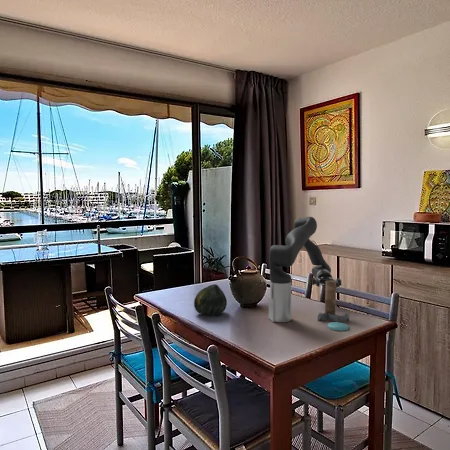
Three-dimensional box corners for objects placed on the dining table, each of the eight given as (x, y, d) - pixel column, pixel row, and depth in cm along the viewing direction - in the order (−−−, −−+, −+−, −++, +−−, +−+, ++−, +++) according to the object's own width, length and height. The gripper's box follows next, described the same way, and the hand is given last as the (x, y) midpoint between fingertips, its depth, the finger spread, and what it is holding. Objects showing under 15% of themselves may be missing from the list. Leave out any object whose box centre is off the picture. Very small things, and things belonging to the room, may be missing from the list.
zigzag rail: (318, 322, 168) (318, 315, 168) (316, 318, 173) (316, 311, 173) (350, 322, 167) (350, 315, 167) (347, 319, 172) (347, 312, 172)
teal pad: (333, 331, 156) (333, 329, 156) (324, 324, 165) (324, 323, 165) (352, 330, 158) (352, 328, 158) (342, 323, 166) (342, 321, 166)
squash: (188, 299, 186) (196, 280, 176) (215, 296, 193) (225, 278, 183) (196, 325, 177) (205, 306, 168) (225, 321, 184) (236, 303, 174)
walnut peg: (327, 317, 174) (328, 282, 173) (323, 314, 179) (323, 280, 177) (337, 317, 175) (337, 282, 174) (332, 314, 180) (333, 280, 178)
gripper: (310, 270, 204) (312, 277, 188) (338, 270, 202) (343, 277, 186) (310, 284, 204) (312, 292, 188) (338, 284, 202) (342, 293, 186)
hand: (327, 285), depth 187 cm, fingers open, 8 cm apart
